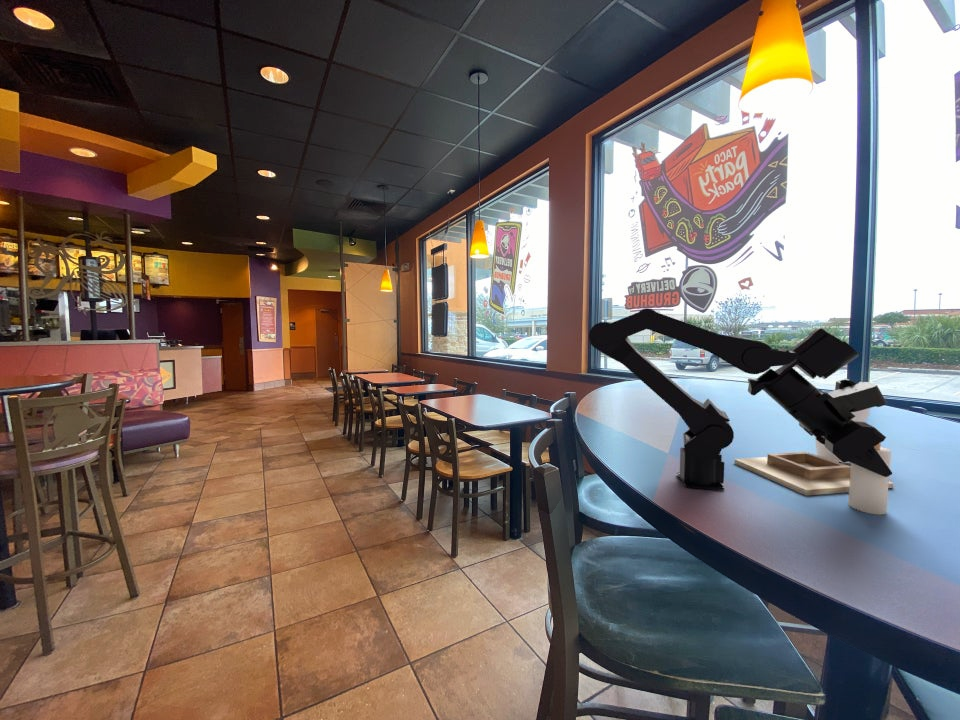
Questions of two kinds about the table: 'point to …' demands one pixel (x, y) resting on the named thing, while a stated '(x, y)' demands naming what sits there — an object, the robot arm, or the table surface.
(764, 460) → the plate
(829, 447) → the robot arm
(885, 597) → the table surface
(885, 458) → the white bottle
